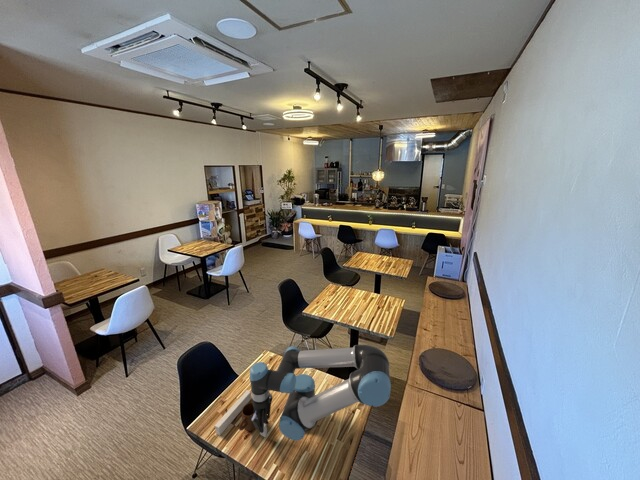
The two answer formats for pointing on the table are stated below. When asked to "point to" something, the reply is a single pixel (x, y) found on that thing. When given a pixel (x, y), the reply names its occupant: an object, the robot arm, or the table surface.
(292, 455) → the table surface
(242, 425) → the mug
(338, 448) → the table surface
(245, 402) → the board
